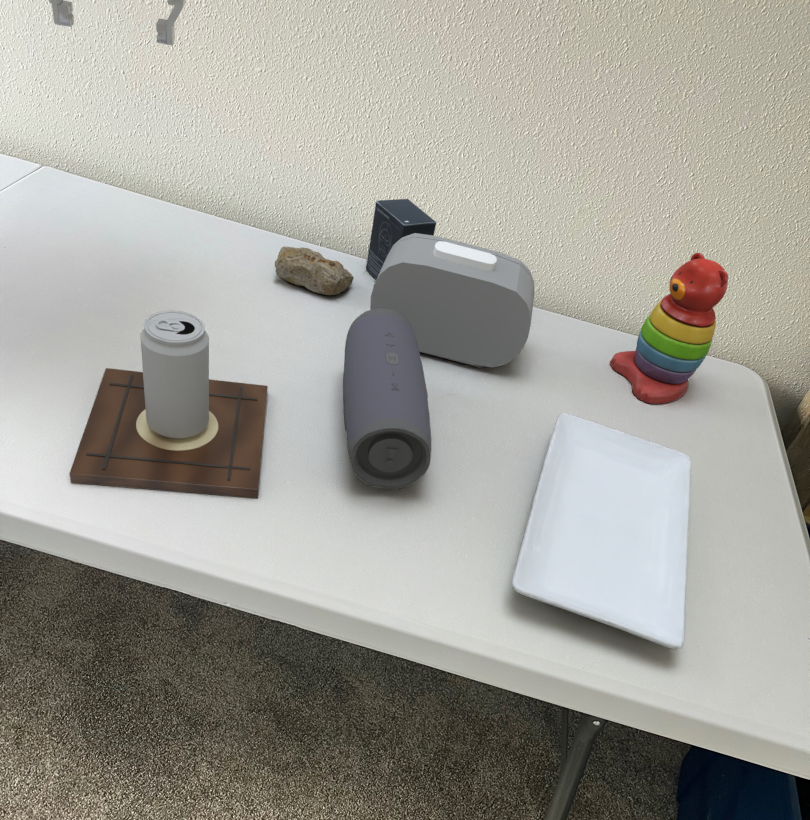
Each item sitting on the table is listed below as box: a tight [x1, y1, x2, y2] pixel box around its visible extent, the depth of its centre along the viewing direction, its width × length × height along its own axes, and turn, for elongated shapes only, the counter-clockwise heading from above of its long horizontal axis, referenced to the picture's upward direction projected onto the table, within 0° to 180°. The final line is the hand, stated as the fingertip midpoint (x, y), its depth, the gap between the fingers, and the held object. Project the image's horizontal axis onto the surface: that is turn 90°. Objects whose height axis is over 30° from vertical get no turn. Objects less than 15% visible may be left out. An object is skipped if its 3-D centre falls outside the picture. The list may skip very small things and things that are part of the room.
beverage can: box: [139, 309, 210, 439], centre depth 79 cm, size 6×6×12 cm
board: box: [68, 367, 269, 499], centre depth 84 cm, size 18×18×1 cm
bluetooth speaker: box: [342, 308, 432, 490], centre depth 87 cm, size 23×9×10 cm, turn 4°
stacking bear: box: [609, 252, 729, 405], centre depth 104 cm, size 11×10×18 cm
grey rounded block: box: [369, 233, 535, 369], centre depth 102 cm, size 21×10×13 cm, turn 80°
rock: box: [274, 245, 354, 296], centre depth 110 cm, size 8×11×4 cm
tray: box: [511, 412, 692, 650], centre depth 84 cm, size 17×32×4 cm, turn 163°
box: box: [365, 198, 437, 280], centre depth 113 cm, size 8×6×11 cm
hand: (115, 33), depth 76 cm, fingers open, 8 cm apart
